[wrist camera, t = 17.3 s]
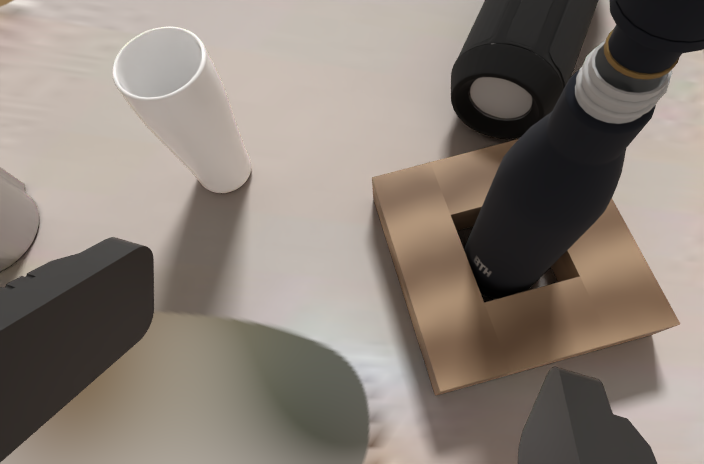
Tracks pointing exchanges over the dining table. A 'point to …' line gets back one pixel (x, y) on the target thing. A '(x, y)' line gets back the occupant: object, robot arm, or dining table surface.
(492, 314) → the walnut jig
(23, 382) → the robot arm
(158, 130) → the drinking glass
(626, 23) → the black bottle
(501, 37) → the portable speaker
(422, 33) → the dining table surface
